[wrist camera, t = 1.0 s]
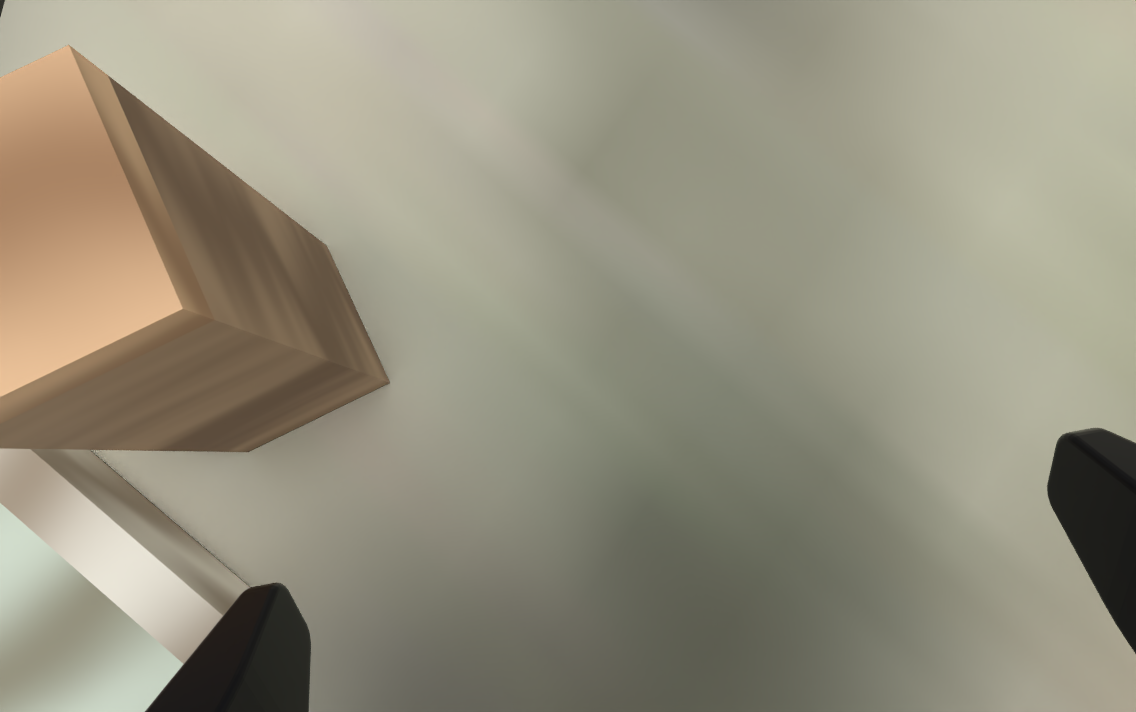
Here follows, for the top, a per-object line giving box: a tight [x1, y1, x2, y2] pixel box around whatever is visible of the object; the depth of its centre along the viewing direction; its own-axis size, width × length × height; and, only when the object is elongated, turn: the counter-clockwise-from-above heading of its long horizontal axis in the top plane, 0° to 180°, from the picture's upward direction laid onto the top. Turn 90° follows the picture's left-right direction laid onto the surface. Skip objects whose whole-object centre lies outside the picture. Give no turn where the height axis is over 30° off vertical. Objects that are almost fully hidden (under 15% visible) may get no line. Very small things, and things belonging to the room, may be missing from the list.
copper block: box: [0, 45, 390, 452], centre depth 18 cm, size 4×4×12 cm
